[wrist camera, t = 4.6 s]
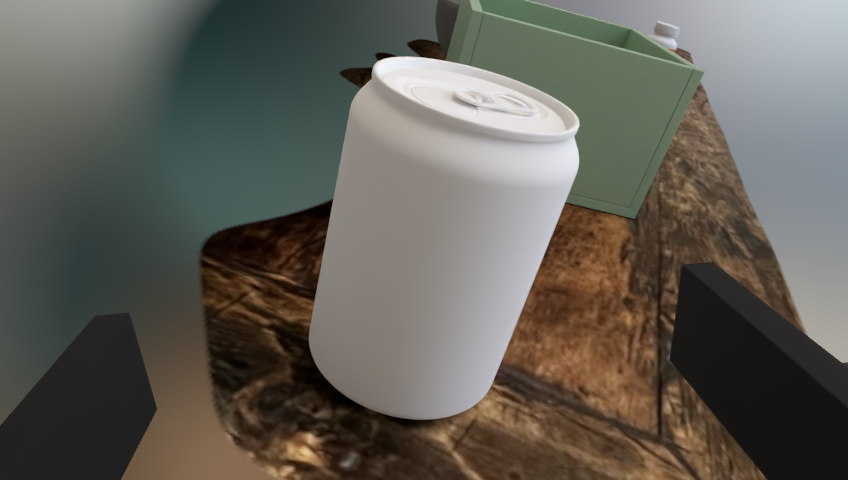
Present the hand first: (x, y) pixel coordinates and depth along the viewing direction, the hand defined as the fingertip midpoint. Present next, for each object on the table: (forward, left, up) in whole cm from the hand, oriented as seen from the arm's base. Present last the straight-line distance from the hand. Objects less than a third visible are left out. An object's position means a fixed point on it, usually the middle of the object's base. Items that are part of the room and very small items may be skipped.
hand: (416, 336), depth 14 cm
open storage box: (+10, +38, -8) cm, 40 cm away
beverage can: (+1, +8, -8) cm, 12 cm away
